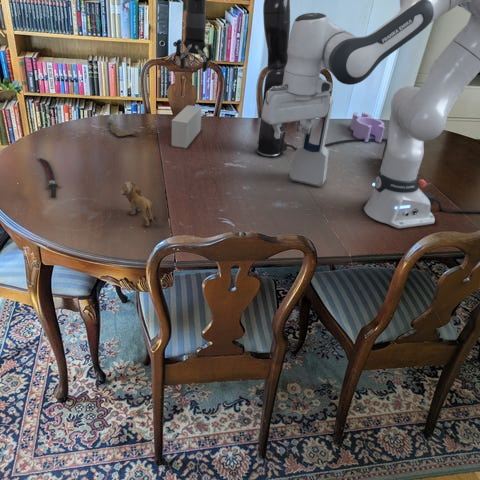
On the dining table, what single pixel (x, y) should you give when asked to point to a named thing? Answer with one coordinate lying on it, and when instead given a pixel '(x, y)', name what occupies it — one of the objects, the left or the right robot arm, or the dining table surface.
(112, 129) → the jawbone
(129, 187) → the lion figurine
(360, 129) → the clip
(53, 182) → the sword
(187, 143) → the box
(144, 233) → the dining table surface
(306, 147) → the electronic device
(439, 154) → the dining table surface
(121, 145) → the dining table surface
